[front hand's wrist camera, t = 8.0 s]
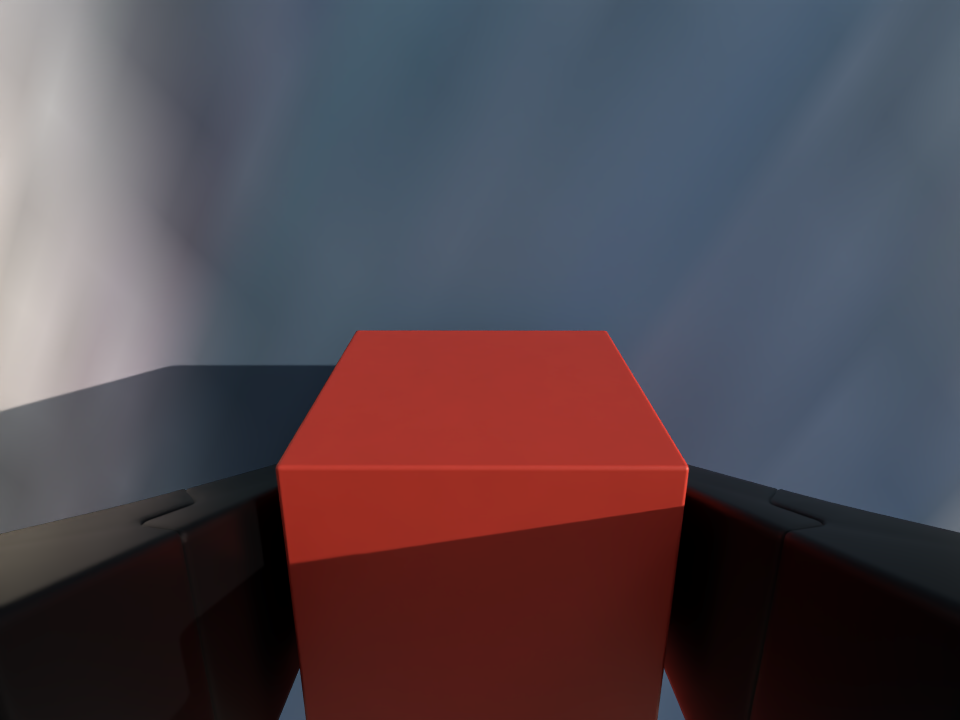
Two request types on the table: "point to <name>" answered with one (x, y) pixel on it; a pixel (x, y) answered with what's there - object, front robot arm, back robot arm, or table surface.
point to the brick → (481, 531)
